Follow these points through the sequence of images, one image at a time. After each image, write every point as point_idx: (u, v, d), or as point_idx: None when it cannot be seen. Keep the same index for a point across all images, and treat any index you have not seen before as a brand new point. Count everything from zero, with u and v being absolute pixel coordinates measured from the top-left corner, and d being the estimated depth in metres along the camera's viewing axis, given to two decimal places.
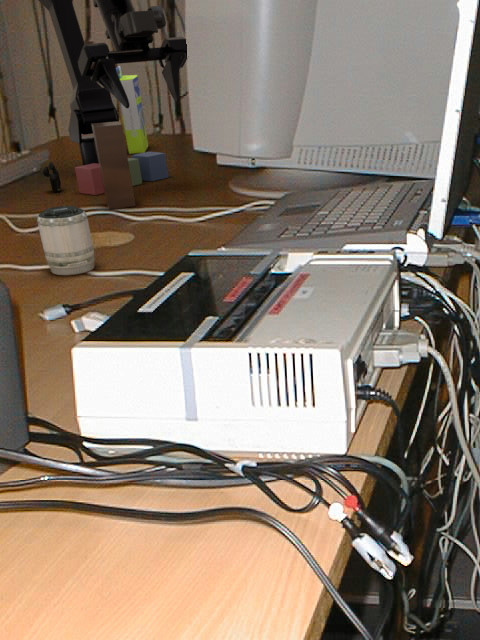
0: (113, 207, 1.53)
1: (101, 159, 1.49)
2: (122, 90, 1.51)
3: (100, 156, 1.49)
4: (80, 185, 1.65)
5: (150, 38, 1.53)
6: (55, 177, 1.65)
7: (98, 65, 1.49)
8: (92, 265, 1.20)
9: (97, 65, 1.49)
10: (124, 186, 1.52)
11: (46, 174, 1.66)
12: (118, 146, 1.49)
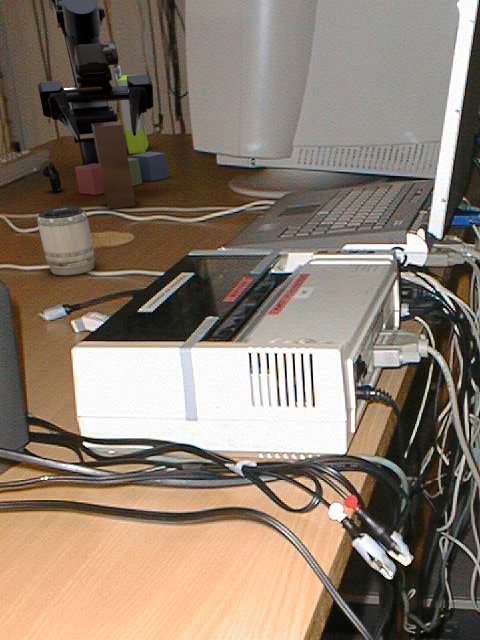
0: (113, 207, 1.53)
1: (101, 159, 1.49)
2: (73, 123, 1.52)
3: (100, 156, 1.49)
4: (80, 185, 1.65)
5: (108, 75, 1.53)
6: (55, 177, 1.65)
7: (50, 100, 1.51)
8: (92, 265, 1.20)
9: (49, 100, 1.51)
10: (124, 186, 1.52)
11: (46, 174, 1.66)
12: (118, 146, 1.49)
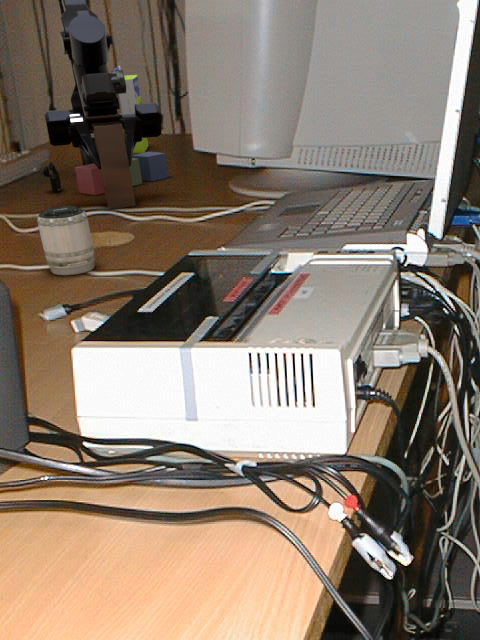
0: (113, 207, 1.53)
1: (101, 159, 1.49)
2: (94, 151, 1.50)
3: (100, 156, 1.49)
4: (80, 185, 1.65)
5: (116, 103, 1.51)
6: (55, 177, 1.65)
7: (71, 128, 1.49)
8: (92, 265, 1.20)
9: (70, 128, 1.49)
10: (125, 186, 1.52)
11: (46, 174, 1.66)
12: (118, 146, 1.49)
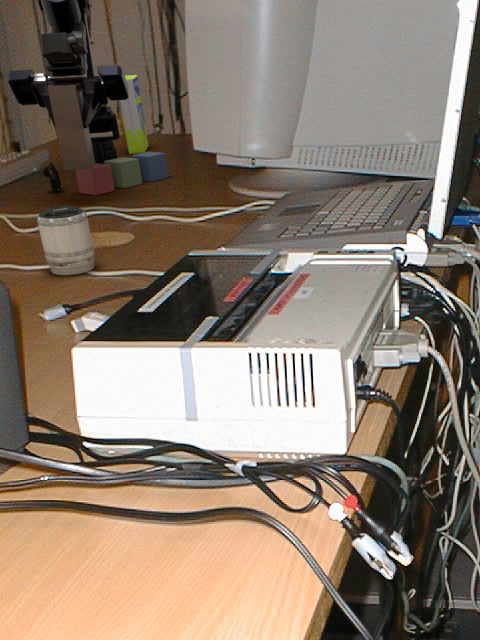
0: (68, 168, 1.54)
1: (55, 119, 1.50)
2: (52, 112, 1.51)
3: (54, 116, 1.50)
4: (80, 185, 1.65)
5: (78, 64, 1.51)
6: (55, 177, 1.65)
7: (32, 88, 1.51)
8: (92, 265, 1.20)
9: (31, 88, 1.51)
10: (79, 147, 1.52)
11: (46, 174, 1.66)
12: (72, 107, 1.49)
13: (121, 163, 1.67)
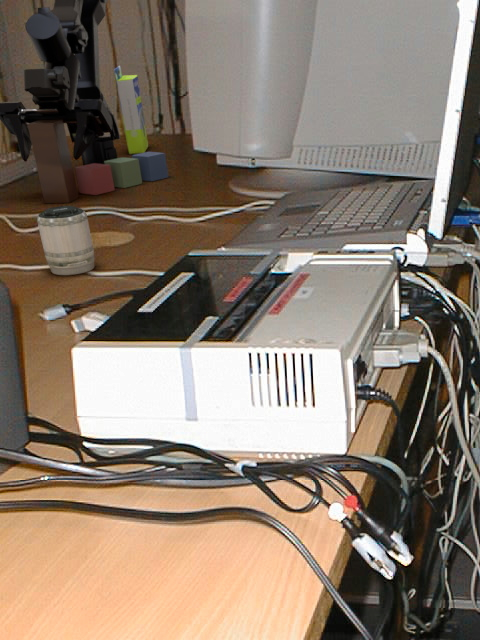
0: (48, 201, 1.59)
1: (35, 155, 1.55)
2: (21, 144, 1.57)
3: (34, 152, 1.55)
4: (80, 185, 1.65)
5: (61, 98, 1.56)
6: None
7: (6, 120, 1.57)
8: (92, 265, 1.20)
9: (5, 120, 1.57)
10: (58, 182, 1.58)
11: None
12: (50, 144, 1.54)
13: (121, 163, 1.67)
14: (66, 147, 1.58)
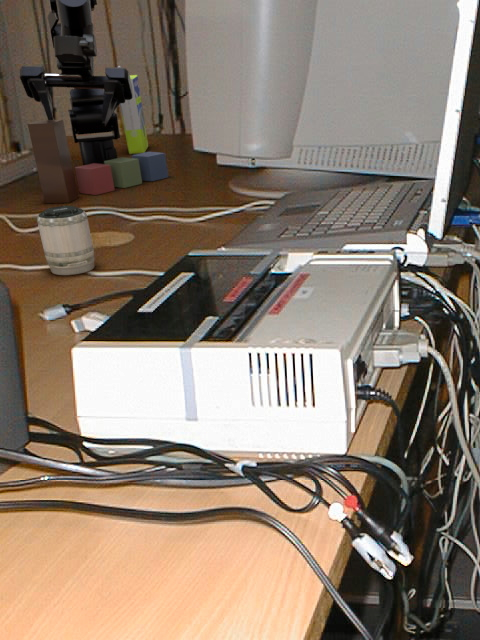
0: (48, 201, 1.59)
1: (35, 155, 1.55)
2: (47, 108, 1.60)
3: (34, 152, 1.55)
4: (80, 185, 1.65)
5: (87, 65, 1.61)
6: None
7: (29, 84, 1.60)
8: (92, 265, 1.20)
9: (29, 84, 1.60)
10: (58, 182, 1.58)
11: None
12: (50, 144, 1.54)
13: (121, 163, 1.67)
14: (66, 147, 1.58)
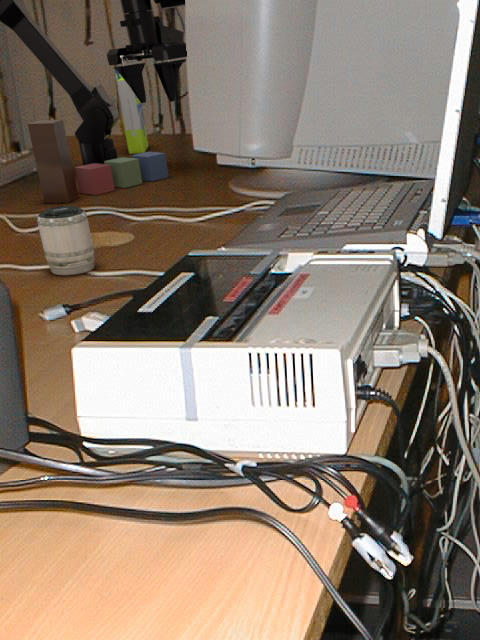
0: (48, 201, 1.59)
1: (35, 155, 1.55)
2: None
3: (34, 152, 1.55)
4: (80, 185, 1.65)
5: None
6: None
7: (182, 62, 1.72)
8: (92, 265, 1.20)
9: None
10: (58, 182, 1.58)
11: None
12: (50, 144, 1.54)
13: (121, 163, 1.67)
14: (66, 147, 1.58)
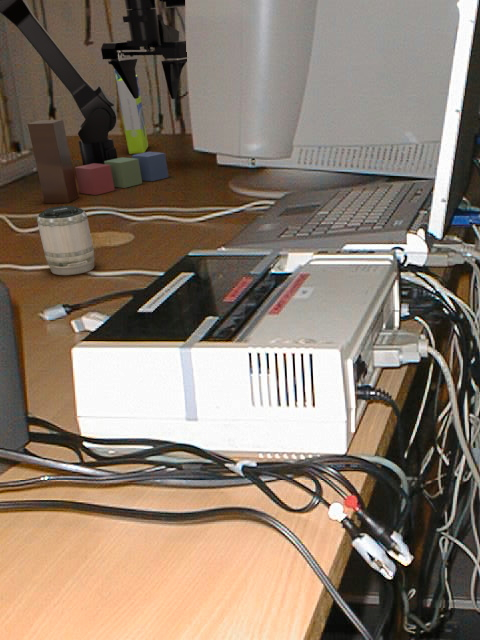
0: (48, 201, 1.59)
1: (35, 155, 1.55)
2: None
3: (34, 152, 1.55)
4: (80, 185, 1.65)
5: None
6: None
7: None
8: (92, 265, 1.20)
9: None
10: (58, 182, 1.58)
11: None
12: (50, 144, 1.54)
13: (121, 163, 1.67)
14: (66, 147, 1.58)
